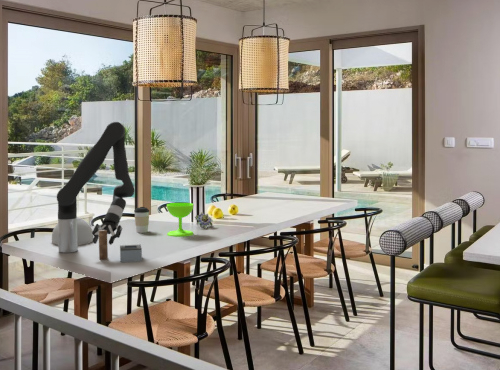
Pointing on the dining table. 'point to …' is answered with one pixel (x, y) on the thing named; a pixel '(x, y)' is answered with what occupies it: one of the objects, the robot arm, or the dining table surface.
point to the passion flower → (204, 220)
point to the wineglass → (180, 217)
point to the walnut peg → (103, 245)
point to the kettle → (82, 233)
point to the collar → (130, 253)
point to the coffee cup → (141, 219)
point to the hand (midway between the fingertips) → (102, 243)
